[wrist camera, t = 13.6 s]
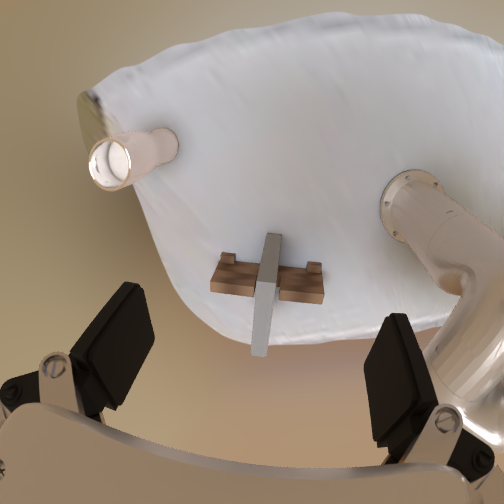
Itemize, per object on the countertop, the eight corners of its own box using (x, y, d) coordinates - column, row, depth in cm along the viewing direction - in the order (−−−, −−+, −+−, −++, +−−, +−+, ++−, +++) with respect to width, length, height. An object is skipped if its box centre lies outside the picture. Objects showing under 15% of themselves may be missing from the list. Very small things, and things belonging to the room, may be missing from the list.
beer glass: (184, 129, 39) (135, 140, 26) (177, 170, 43) (129, 198, 30) (146, 122, 39) (89, 133, 26) (141, 161, 43) (86, 187, 30)
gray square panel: (281, 234, 46) (276, 283, 33) (273, 301, 52) (266, 356, 40) (267, 233, 46) (256, 281, 34) (261, 299, 53) (250, 354, 40)
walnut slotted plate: (322, 263, 47) (326, 286, 41) (317, 286, 49) (320, 311, 43) (220, 252, 49) (209, 273, 43) (220, 275, 51) (210, 298, 45)
